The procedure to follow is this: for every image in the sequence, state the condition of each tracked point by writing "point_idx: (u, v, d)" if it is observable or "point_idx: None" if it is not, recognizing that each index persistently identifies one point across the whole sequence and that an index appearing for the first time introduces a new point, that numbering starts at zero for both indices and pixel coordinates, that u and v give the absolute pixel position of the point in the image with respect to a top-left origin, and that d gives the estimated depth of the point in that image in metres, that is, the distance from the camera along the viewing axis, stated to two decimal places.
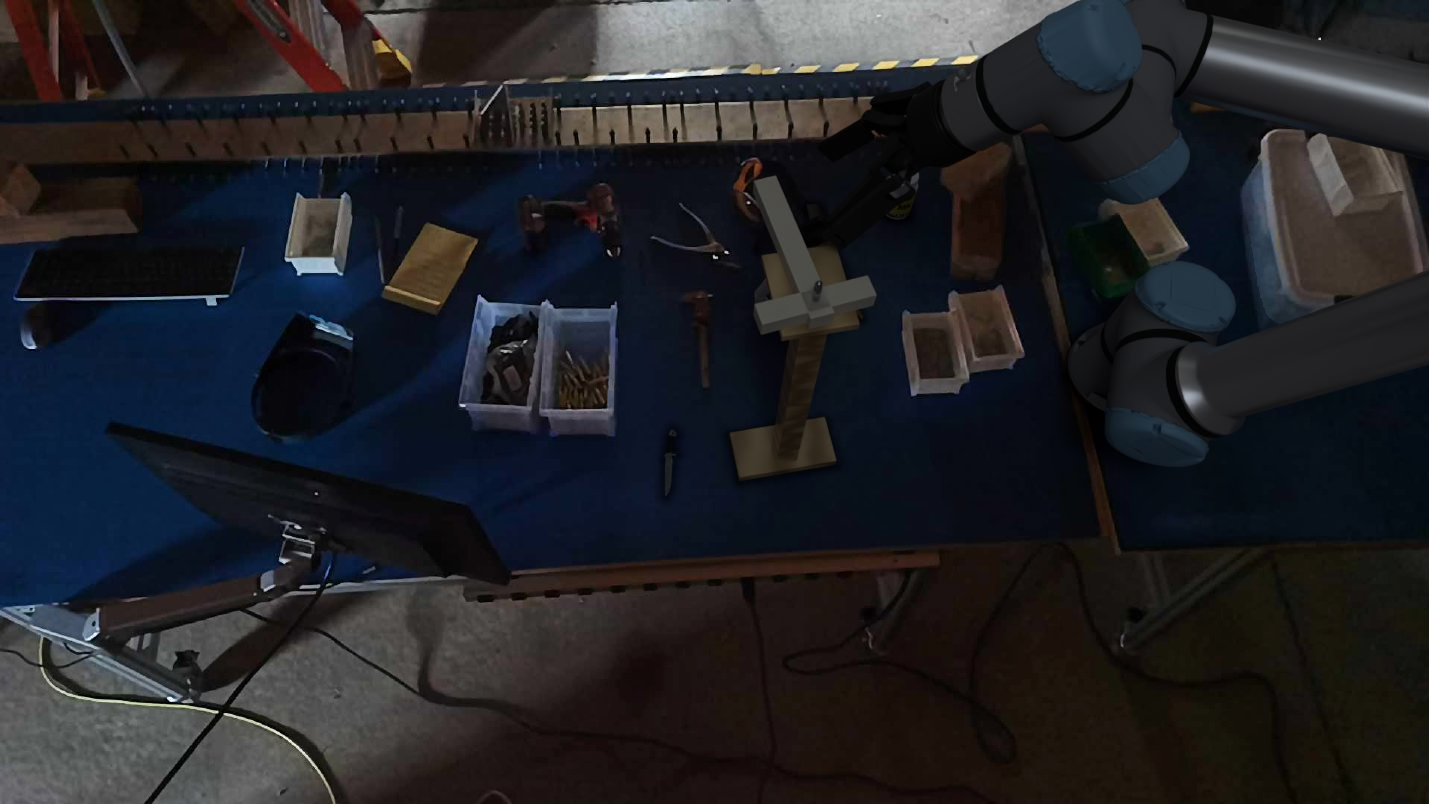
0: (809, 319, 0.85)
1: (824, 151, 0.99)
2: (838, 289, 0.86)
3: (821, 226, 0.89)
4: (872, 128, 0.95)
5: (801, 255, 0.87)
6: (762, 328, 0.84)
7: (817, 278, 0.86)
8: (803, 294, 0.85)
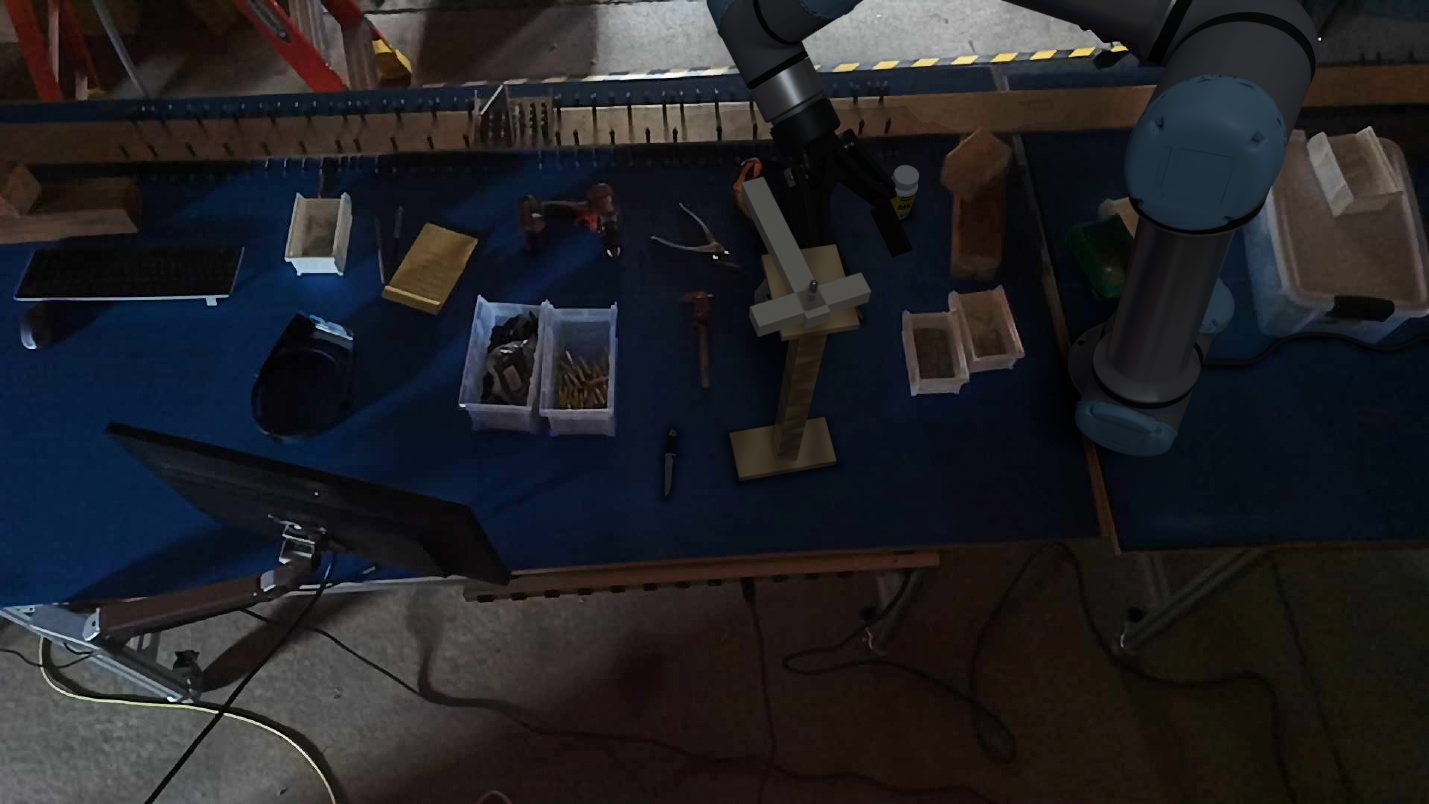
0: (805, 319, 0.85)
1: (896, 252, 1.06)
2: (832, 287, 0.86)
3: None
4: (882, 200, 1.04)
5: (794, 255, 0.87)
6: (759, 330, 0.84)
7: (811, 277, 0.86)
8: (798, 294, 0.85)
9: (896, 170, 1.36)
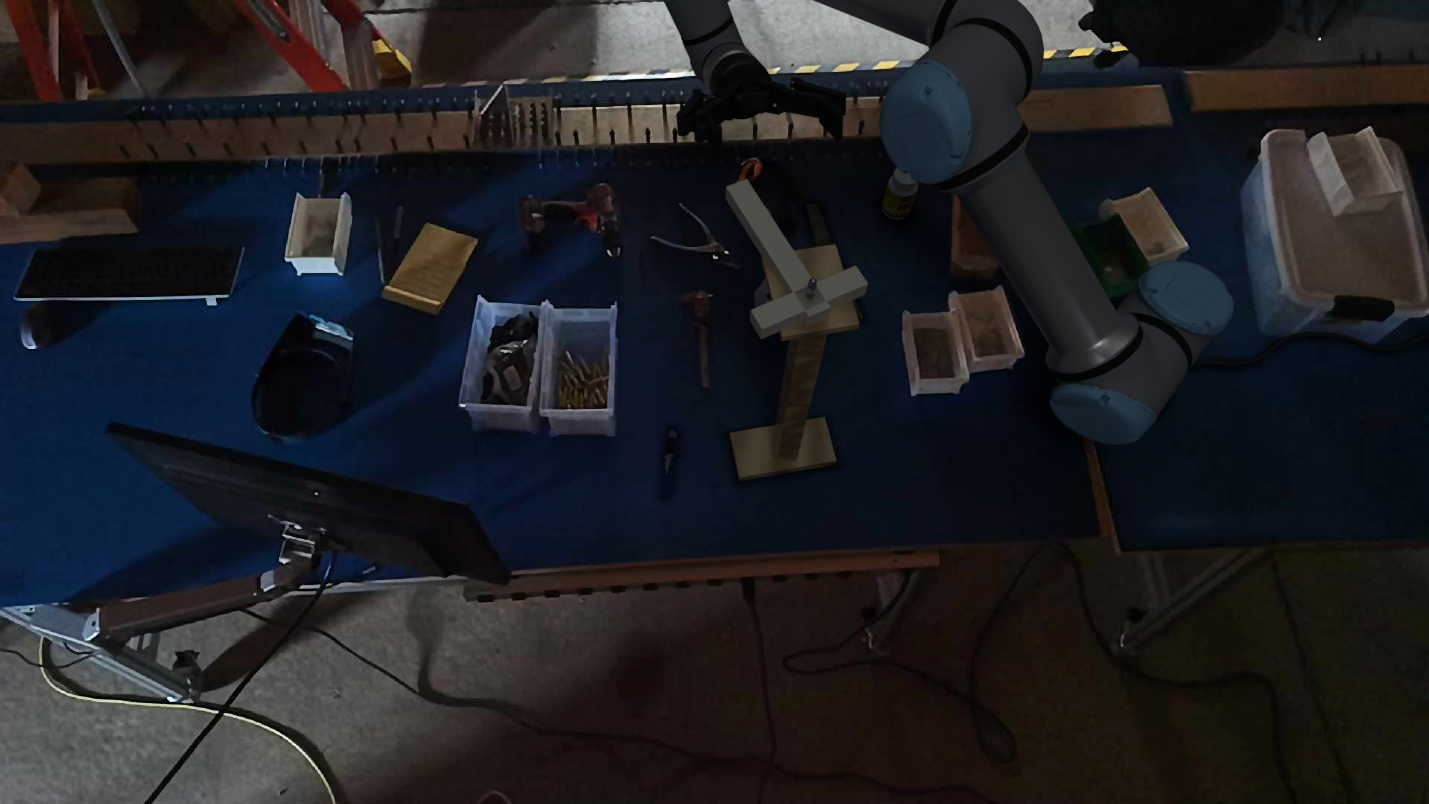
0: (807, 317, 0.85)
1: (835, 131, 0.96)
2: (830, 283, 0.86)
3: None
4: None
5: (787, 254, 0.87)
6: (762, 333, 0.84)
7: (807, 275, 0.86)
8: (796, 293, 0.85)
9: (896, 170, 1.36)
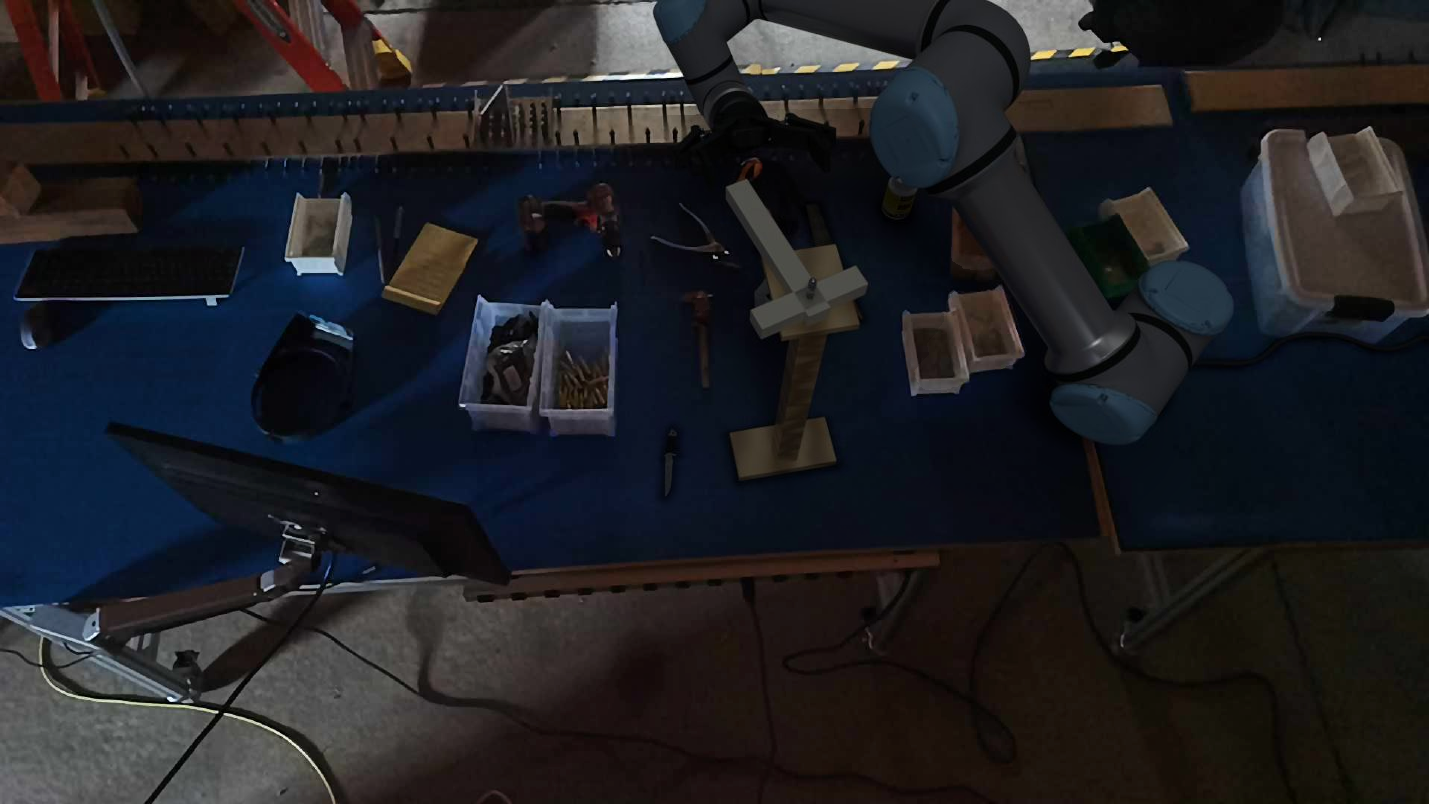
0: (807, 317, 0.85)
1: (823, 164, 1.00)
2: (830, 283, 0.86)
3: None
4: None
5: (787, 254, 0.87)
6: (762, 333, 0.84)
7: (807, 275, 0.86)
8: (796, 293, 0.85)
9: None
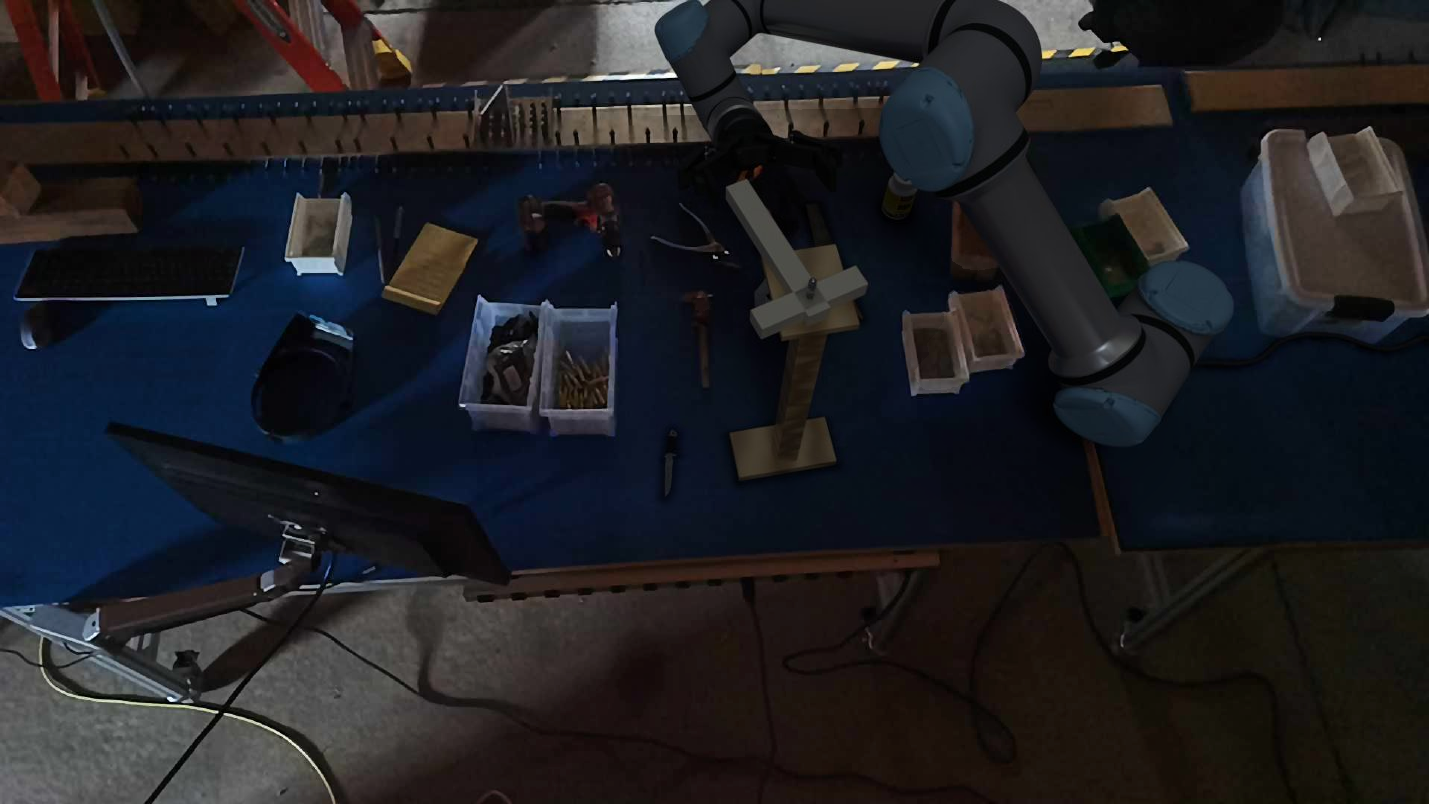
0: (807, 317, 0.85)
1: (829, 184, 0.99)
2: (830, 283, 0.86)
3: None
4: None
5: (787, 254, 0.87)
6: (762, 333, 0.84)
7: (807, 275, 0.86)
8: (796, 293, 0.85)
9: None
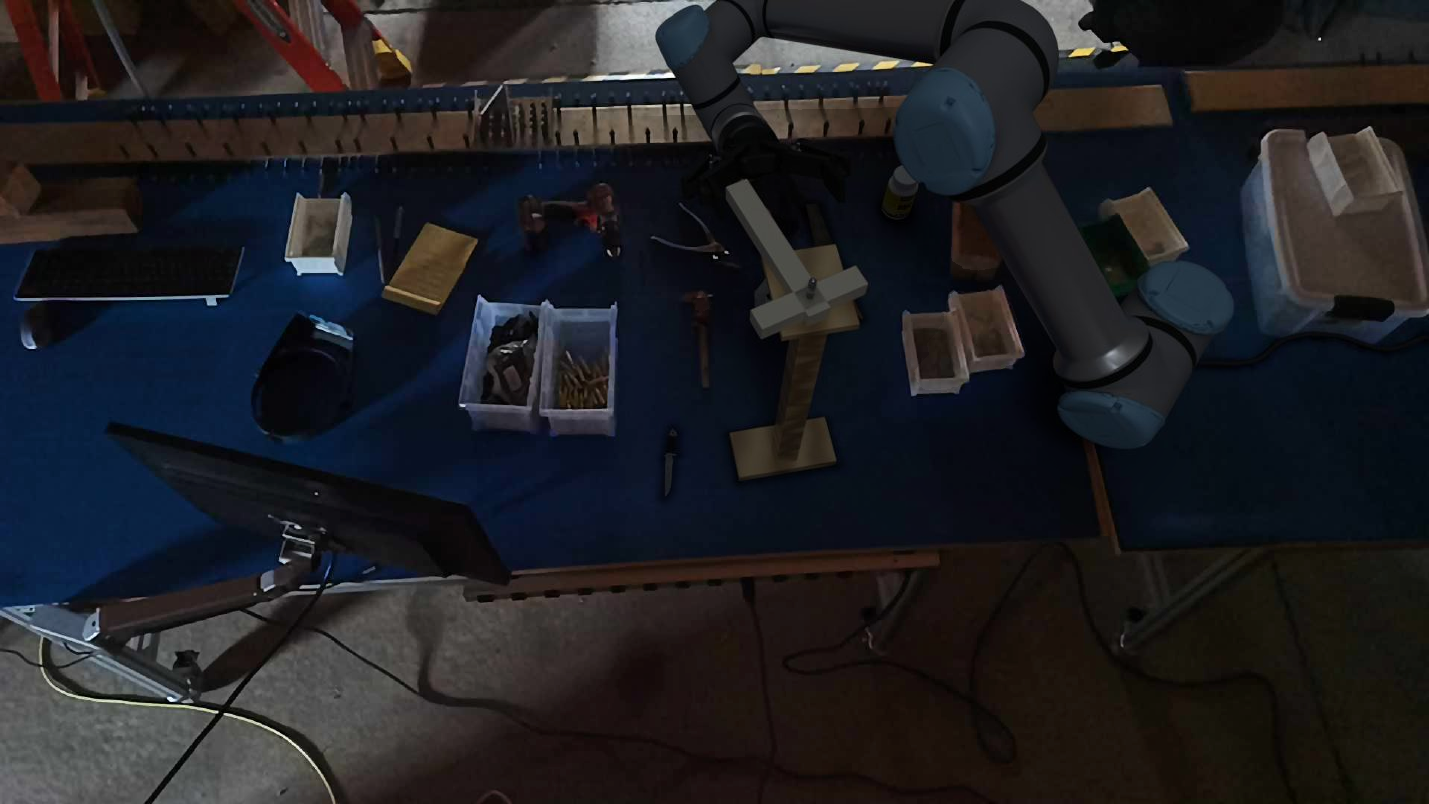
0: (807, 317, 0.85)
1: (837, 194, 0.96)
2: (830, 283, 0.86)
3: None
4: None
5: (787, 254, 0.87)
6: (762, 333, 0.84)
7: (807, 275, 0.86)
8: (796, 293, 0.85)
9: (896, 170, 1.36)
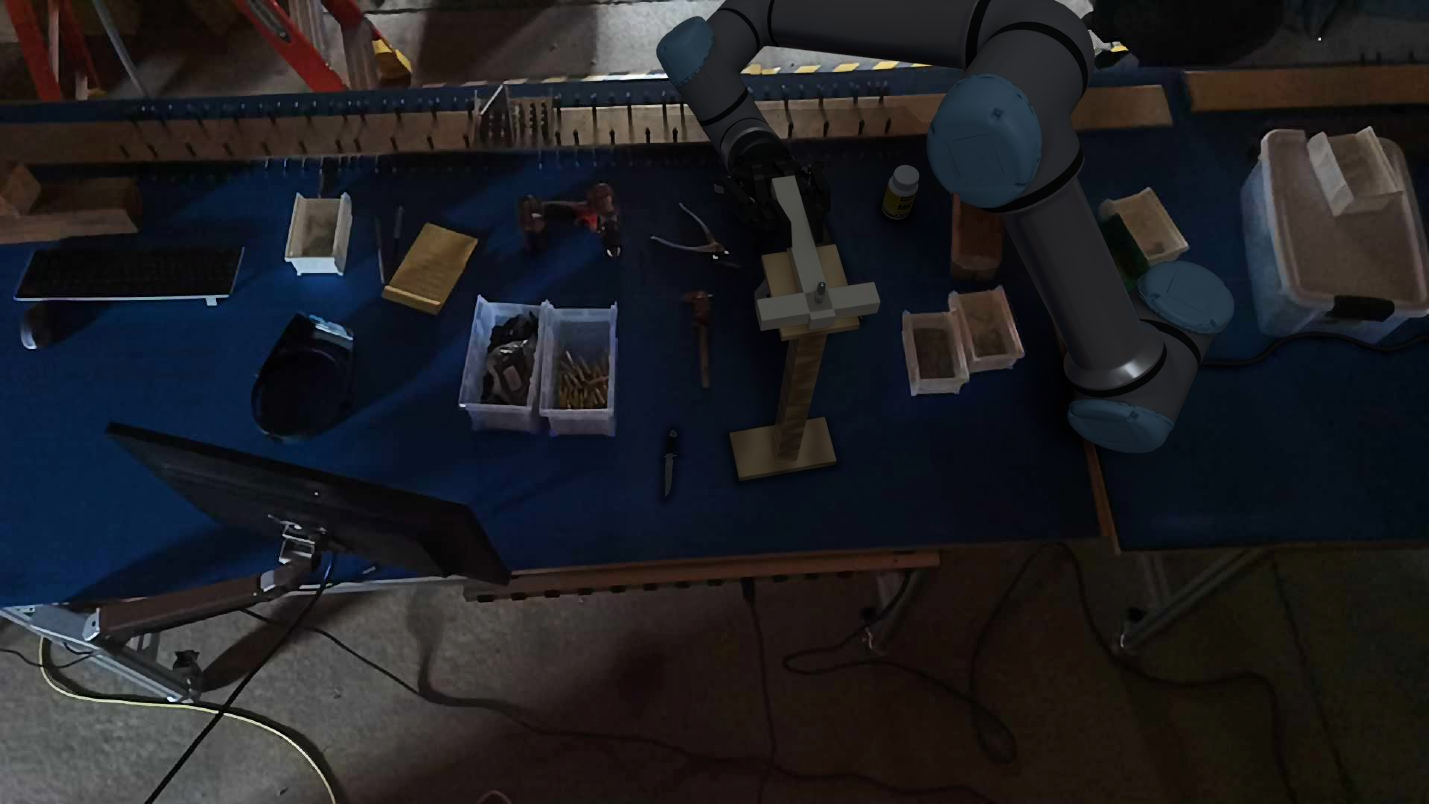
0: (810, 320, 0.84)
1: (815, 234, 0.87)
2: (842, 293, 0.85)
3: None
4: None
5: (810, 255, 0.87)
6: (762, 324, 0.85)
7: (823, 280, 0.86)
8: (806, 294, 0.85)
9: (896, 170, 1.36)
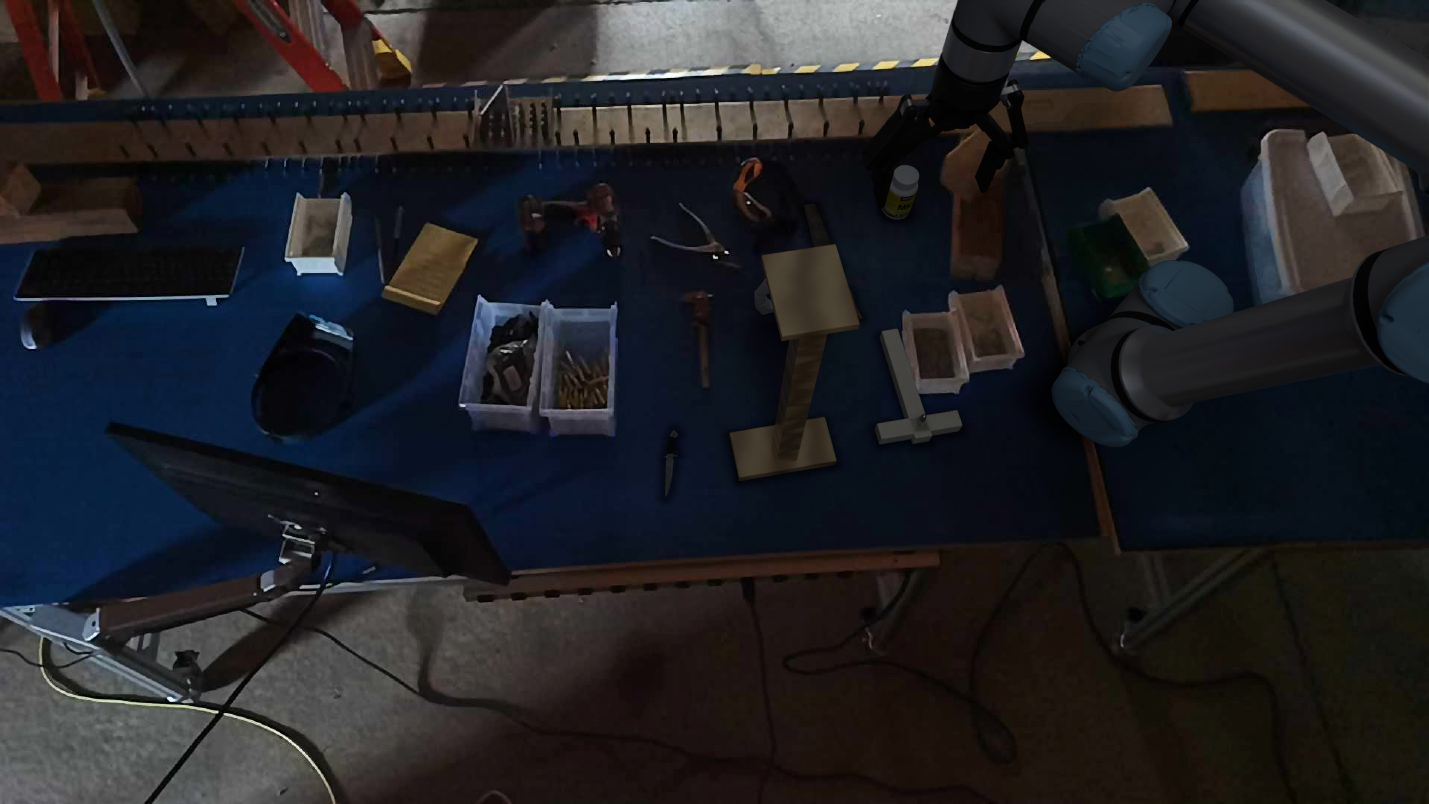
0: (914, 438, 1.23)
1: (977, 179, 1.11)
2: (936, 418, 1.24)
3: None
4: None
5: (912, 390, 1.26)
6: (881, 441, 1.23)
7: (922, 409, 1.24)
8: (911, 420, 1.24)
9: (896, 170, 1.36)
